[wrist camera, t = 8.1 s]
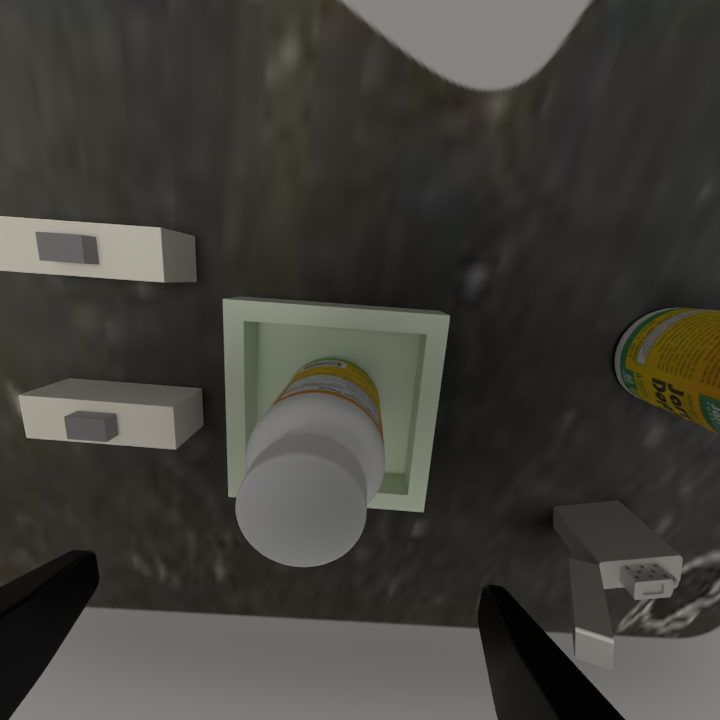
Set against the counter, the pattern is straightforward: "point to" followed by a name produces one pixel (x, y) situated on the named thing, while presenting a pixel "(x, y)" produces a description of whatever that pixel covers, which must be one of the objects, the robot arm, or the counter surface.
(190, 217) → the counter surface
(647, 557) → the lighter
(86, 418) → the pair of white blocks
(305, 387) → the supplement bottle
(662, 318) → the supplement bottle
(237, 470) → the tray
